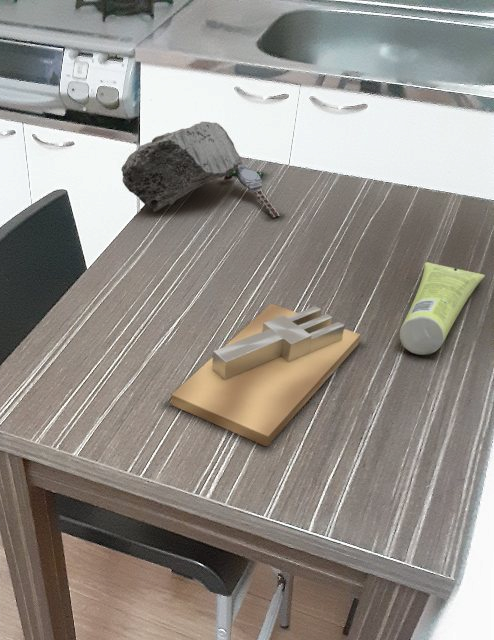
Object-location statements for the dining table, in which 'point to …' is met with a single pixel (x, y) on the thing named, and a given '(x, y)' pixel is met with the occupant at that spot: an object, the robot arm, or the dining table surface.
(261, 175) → the circuit board
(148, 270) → the dining table surface
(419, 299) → the tube
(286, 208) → the dining table surface
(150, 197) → the stone
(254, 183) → the wristwatch
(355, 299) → the dining table surface
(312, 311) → the fork
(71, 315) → the dining table surface
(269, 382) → the board
